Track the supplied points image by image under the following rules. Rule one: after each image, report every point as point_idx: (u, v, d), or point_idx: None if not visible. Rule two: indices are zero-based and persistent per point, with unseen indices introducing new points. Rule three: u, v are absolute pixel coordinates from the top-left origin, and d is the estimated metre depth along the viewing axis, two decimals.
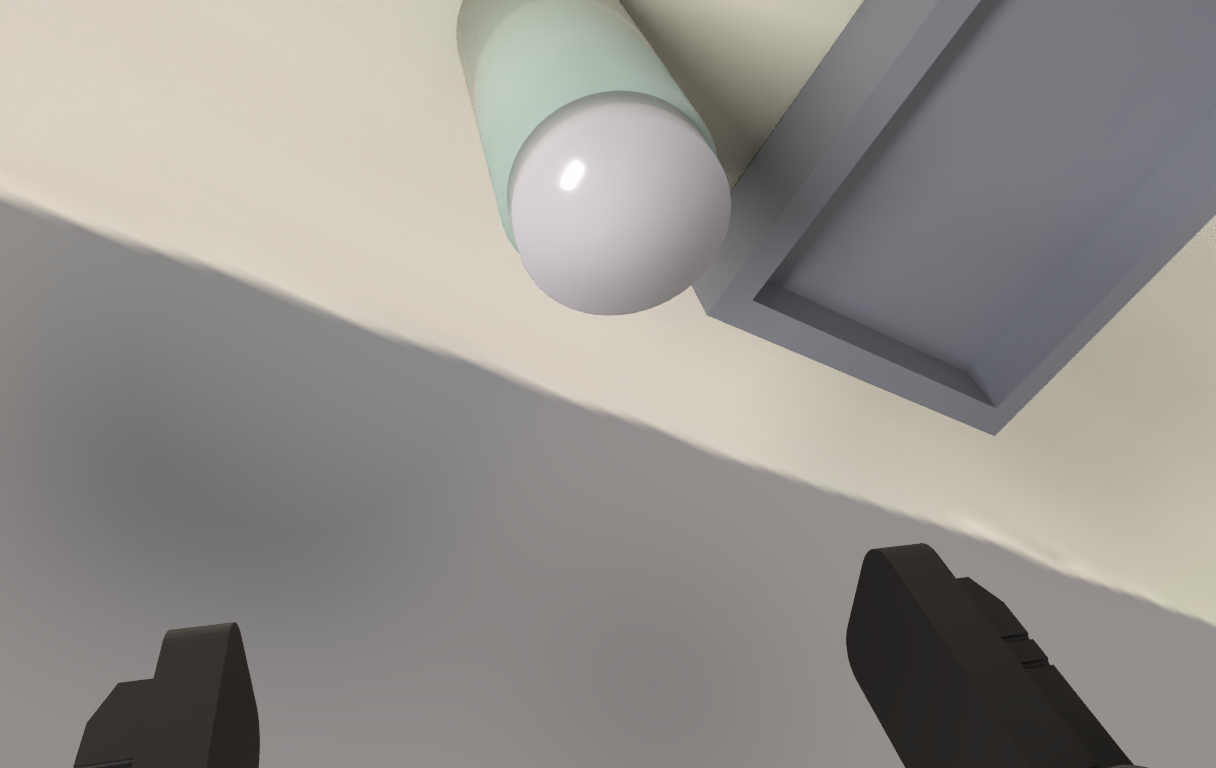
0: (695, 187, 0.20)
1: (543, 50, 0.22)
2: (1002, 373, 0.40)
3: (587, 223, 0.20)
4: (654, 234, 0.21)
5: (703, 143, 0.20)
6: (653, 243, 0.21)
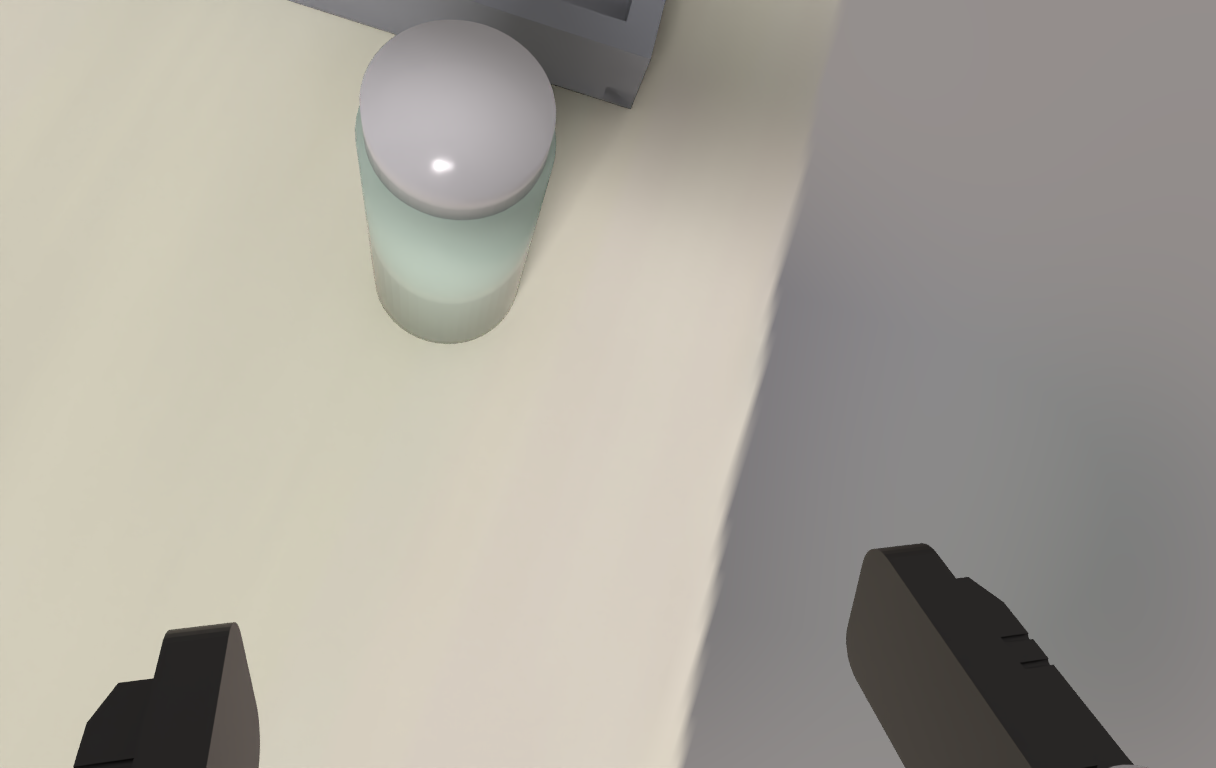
0: (414, 55, 0.23)
1: (381, 231, 0.27)
2: None
3: (464, 136, 0.23)
4: (465, 79, 0.24)
5: (373, 59, 0.23)
6: (474, 78, 0.24)
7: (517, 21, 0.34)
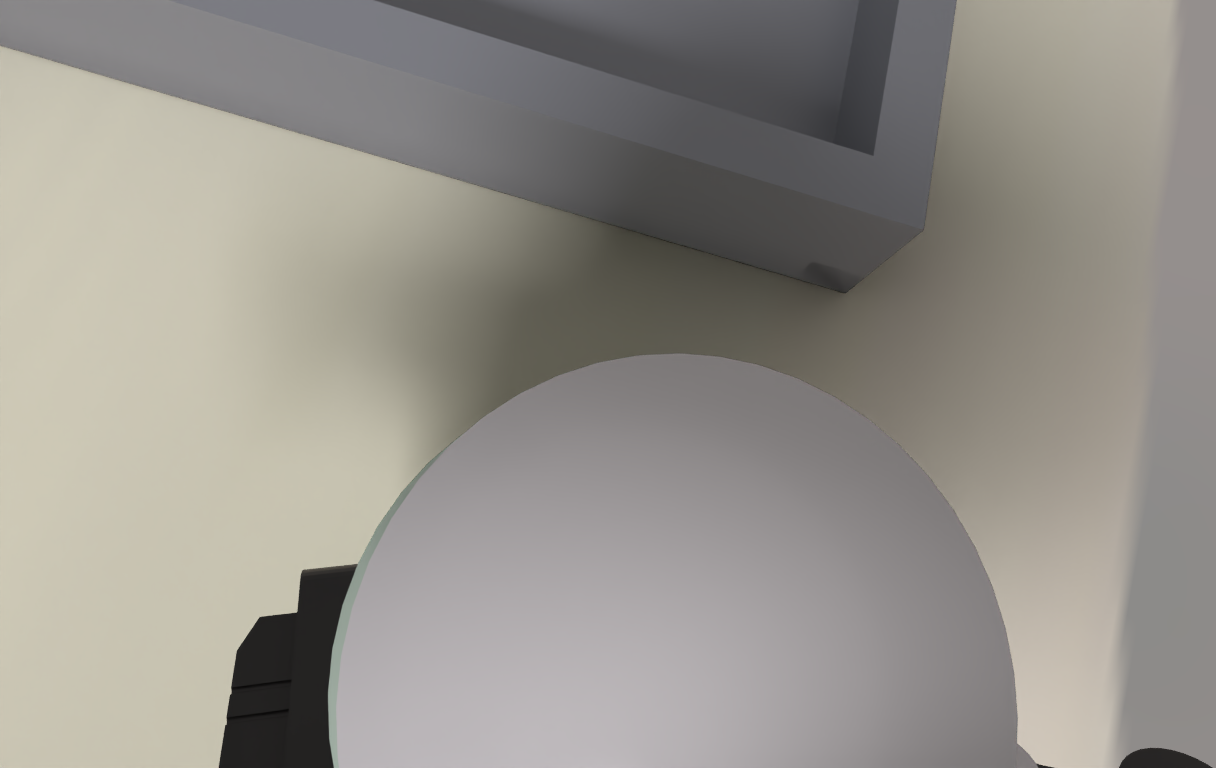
0: (530, 506, 0.07)
1: None
2: None
3: None
4: (709, 579, 0.07)
5: (386, 533, 0.06)
6: (739, 571, 0.07)
7: (665, 160, 0.17)
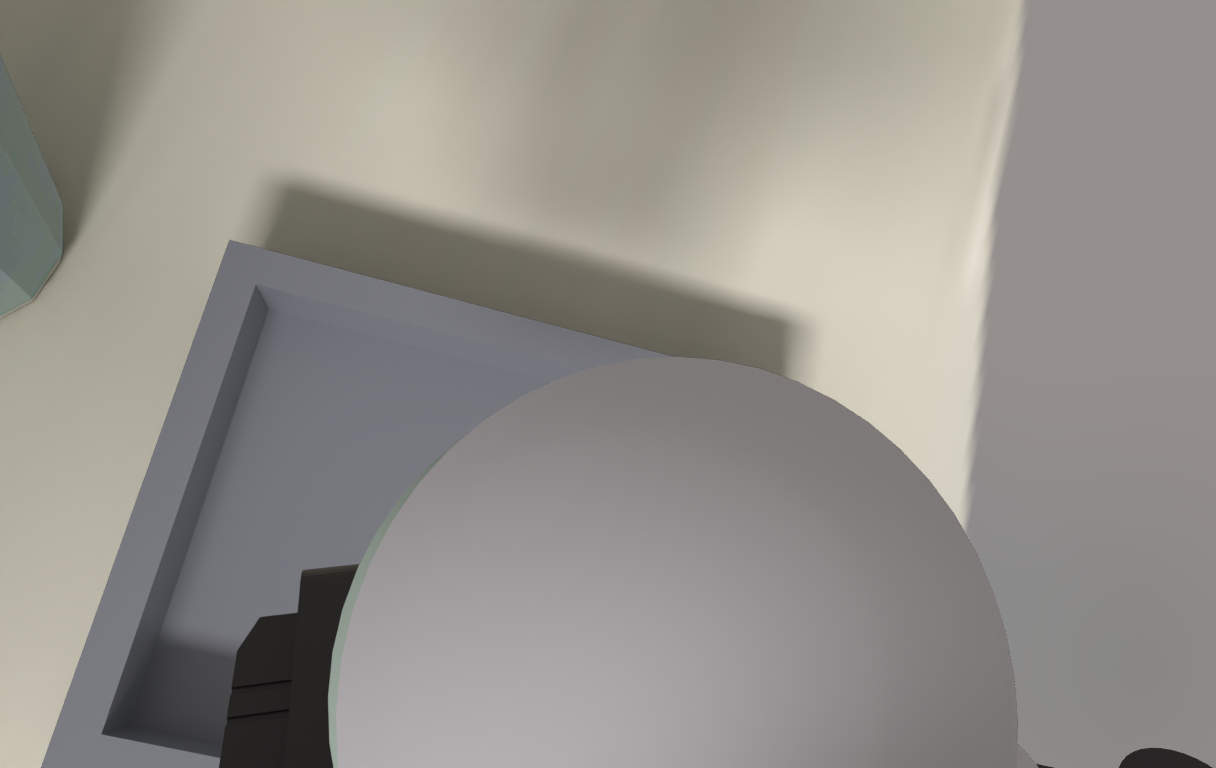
0: (530, 509, 0.07)
1: None
2: None
3: None
4: (709, 583, 0.07)
5: (386, 537, 0.06)
6: (739, 575, 0.07)
7: None
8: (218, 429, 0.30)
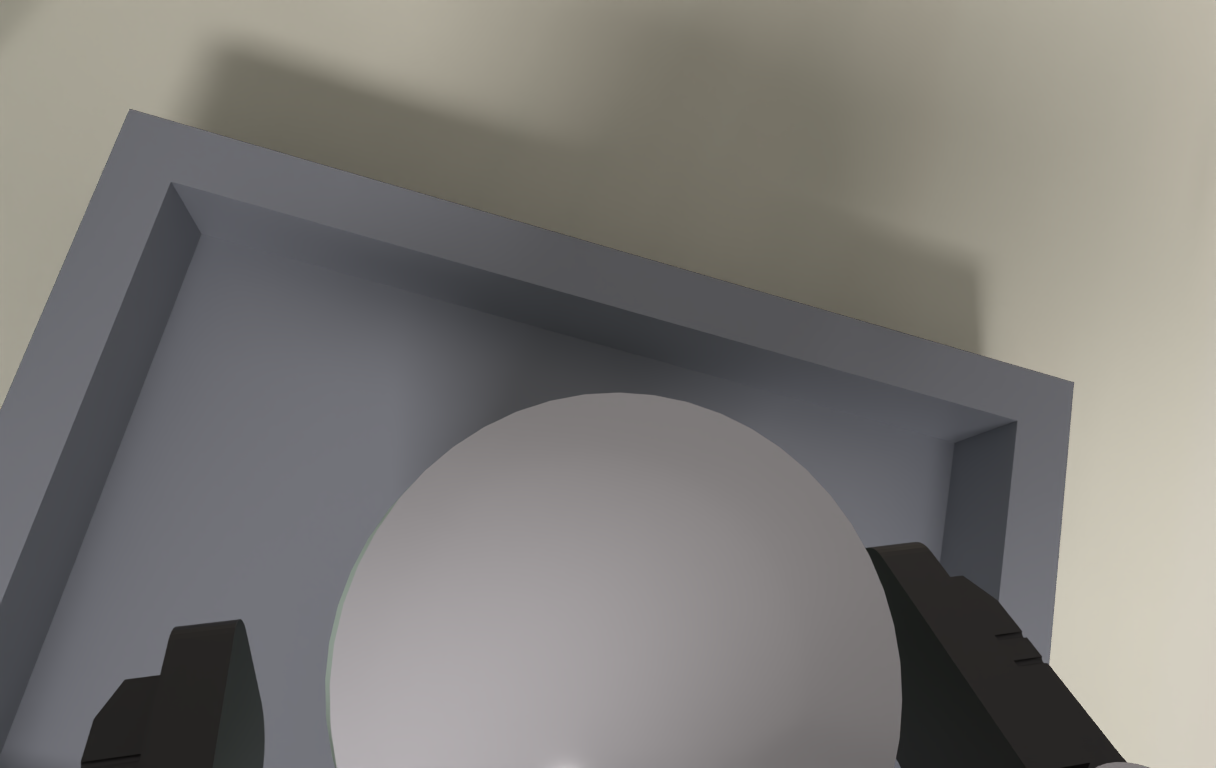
0: (491, 521, 0.08)
1: None
2: (941, 417, 0.21)
3: None
4: (641, 582, 0.08)
5: (371, 543, 0.08)
6: (666, 575, 0.08)
7: None
8: (105, 422, 0.18)
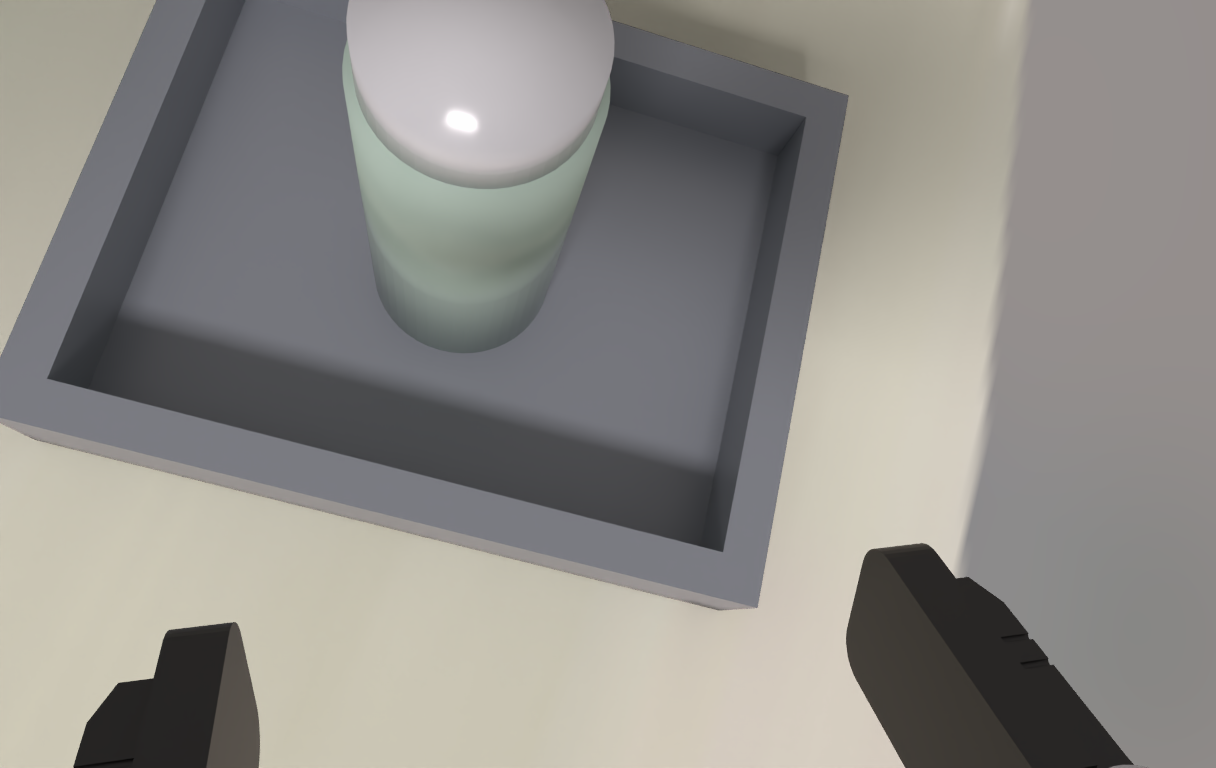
0: None
1: (379, 208, 0.20)
2: (760, 123, 0.30)
3: (490, 71, 0.17)
4: None
5: None
6: None
7: (573, 562, 0.25)
8: (188, 95, 0.27)
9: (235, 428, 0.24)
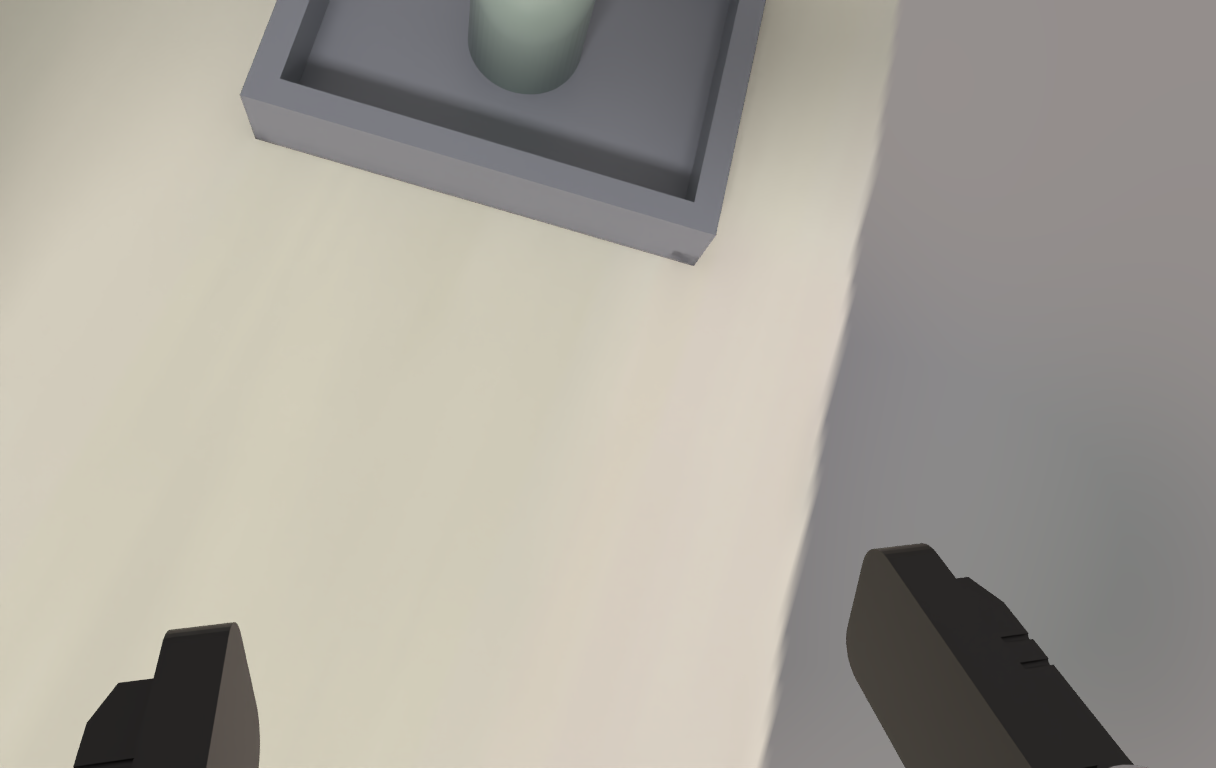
0: None
1: None
2: None
3: None
4: None
5: None
6: None
7: (600, 205, 0.40)
8: None
9: (392, 112, 0.38)
